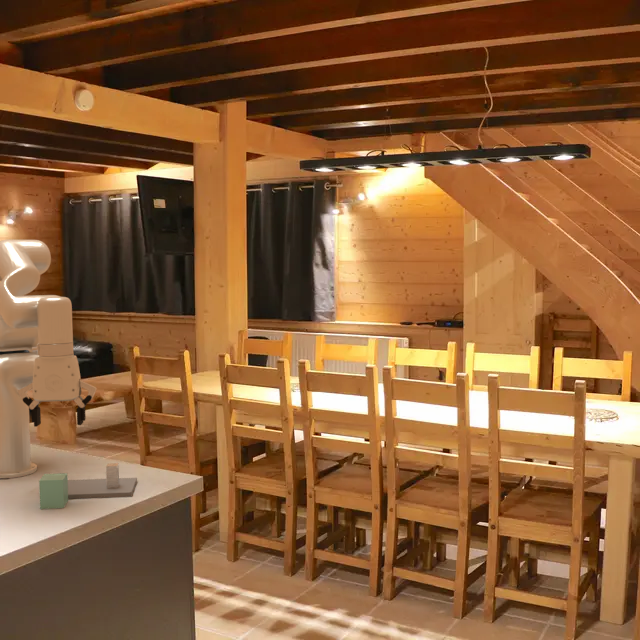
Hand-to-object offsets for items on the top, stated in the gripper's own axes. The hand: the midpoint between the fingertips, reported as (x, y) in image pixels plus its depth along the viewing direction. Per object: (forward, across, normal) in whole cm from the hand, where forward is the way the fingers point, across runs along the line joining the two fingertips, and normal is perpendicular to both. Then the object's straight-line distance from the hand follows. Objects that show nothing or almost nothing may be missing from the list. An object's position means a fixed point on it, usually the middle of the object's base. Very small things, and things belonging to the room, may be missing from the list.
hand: (59, 424), depth 176 cm
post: (+19, +10, +9) cm, 23 cm away
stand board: (+18, +6, +10) cm, 22 cm away
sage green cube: (+19, -2, 0) cm, 19 cm away
